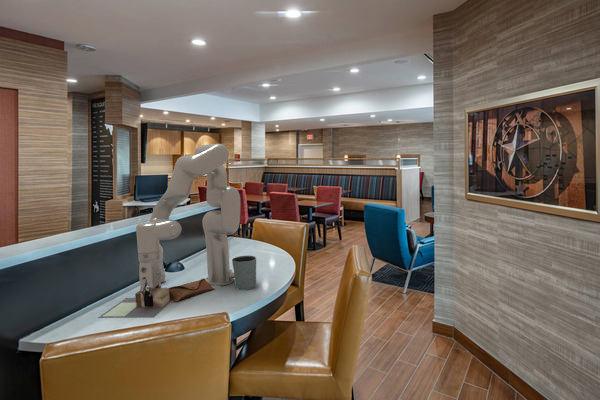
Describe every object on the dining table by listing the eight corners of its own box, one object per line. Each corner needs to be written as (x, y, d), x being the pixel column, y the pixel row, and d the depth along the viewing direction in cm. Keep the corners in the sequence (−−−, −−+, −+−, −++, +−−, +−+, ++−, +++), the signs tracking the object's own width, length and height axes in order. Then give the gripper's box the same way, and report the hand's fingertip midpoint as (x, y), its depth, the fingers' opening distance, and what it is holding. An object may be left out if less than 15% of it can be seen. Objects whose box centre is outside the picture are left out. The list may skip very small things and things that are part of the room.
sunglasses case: (177, 301, 132) (171, 284, 134) (169, 307, 136) (163, 290, 138) (216, 288, 146) (211, 273, 147) (208, 294, 150) (203, 279, 152)
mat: (175, 298, 138) (175, 297, 138) (154, 318, 120) (153, 317, 120) (126, 298, 139) (126, 297, 139) (97, 319, 121) (97, 317, 121)
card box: (169, 300, 135) (168, 287, 135) (162, 306, 129) (161, 293, 129) (144, 300, 136) (143, 287, 135) (136, 307, 130) (135, 293, 129)
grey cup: (253, 290, 143) (251, 262, 142) (229, 289, 145) (228, 261, 144) (260, 282, 153) (259, 255, 152) (238, 281, 155) (237, 255, 154)
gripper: (148, 262, 122) (152, 312, 124) (169, 249, 139) (172, 293, 141) (127, 262, 122) (131, 312, 124) (150, 250, 139) (154, 294, 141)
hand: (153, 302), depth 132 cm, fingers closed on card box, 6 cm apart
